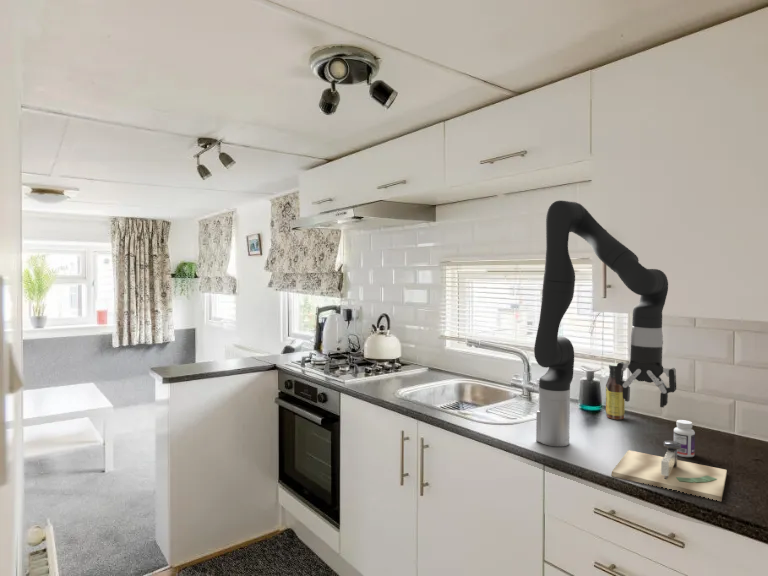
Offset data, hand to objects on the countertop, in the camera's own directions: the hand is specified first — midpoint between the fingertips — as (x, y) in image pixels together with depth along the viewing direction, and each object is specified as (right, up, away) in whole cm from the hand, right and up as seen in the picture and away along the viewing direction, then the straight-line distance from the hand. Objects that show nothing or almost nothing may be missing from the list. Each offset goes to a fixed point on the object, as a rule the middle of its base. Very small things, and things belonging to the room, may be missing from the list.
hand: (644, 403), depth 134 cm
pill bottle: (+19, -18, +14) cm, 30 cm away
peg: (+5, -17, -2) cm, 18 cm away
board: (+6, -19, -2) cm, 19 cm away
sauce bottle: (+15, -17, +50) cm, 55 cm away
